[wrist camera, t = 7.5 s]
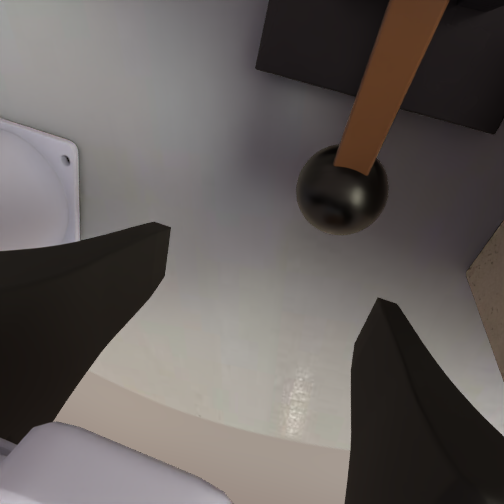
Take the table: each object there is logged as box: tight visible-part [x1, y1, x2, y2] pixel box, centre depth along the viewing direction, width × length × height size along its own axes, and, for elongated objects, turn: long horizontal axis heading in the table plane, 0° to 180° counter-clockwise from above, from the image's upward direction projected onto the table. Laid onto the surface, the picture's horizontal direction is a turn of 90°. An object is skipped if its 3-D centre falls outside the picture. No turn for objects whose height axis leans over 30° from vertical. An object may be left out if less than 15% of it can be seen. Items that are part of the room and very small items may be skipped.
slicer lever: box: [296, 0, 450, 235], centre depth 9 cm, size 12×3×3 cm, turn 166°
